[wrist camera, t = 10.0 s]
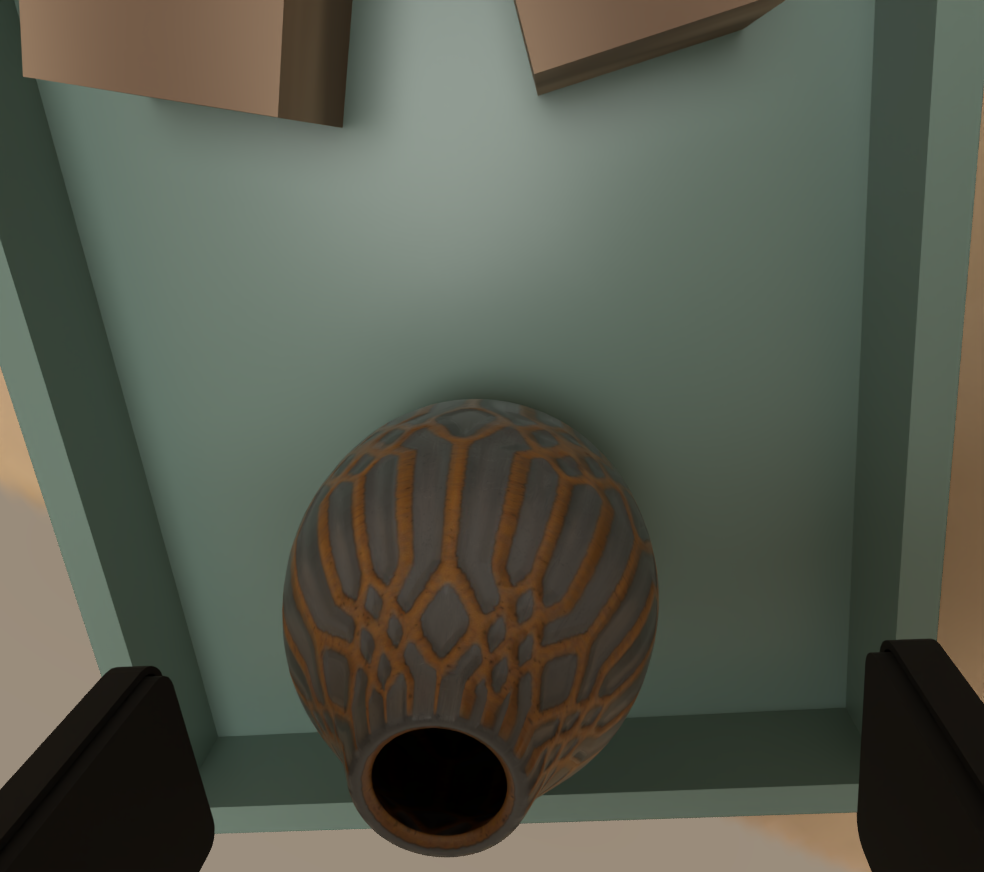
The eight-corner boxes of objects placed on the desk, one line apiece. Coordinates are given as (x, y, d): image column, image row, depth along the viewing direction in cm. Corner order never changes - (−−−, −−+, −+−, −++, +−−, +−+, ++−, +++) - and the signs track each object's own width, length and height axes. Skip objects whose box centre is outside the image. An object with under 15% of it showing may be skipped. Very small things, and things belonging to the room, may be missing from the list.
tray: (920, -355, 13) (1034, -513, 10) (865, 711, 20) (922, 810, 17) (-52, -182, 15) (-208, -272, 12) (208, 741, 22) (153, 835, 19)
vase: (687, 559, 18) (801, 883, 10) (440, 674, 20) (364, 1036, 12) (543, 306, 17) (539, 448, 8) (285, 453, 18) (66, 697, 10)
